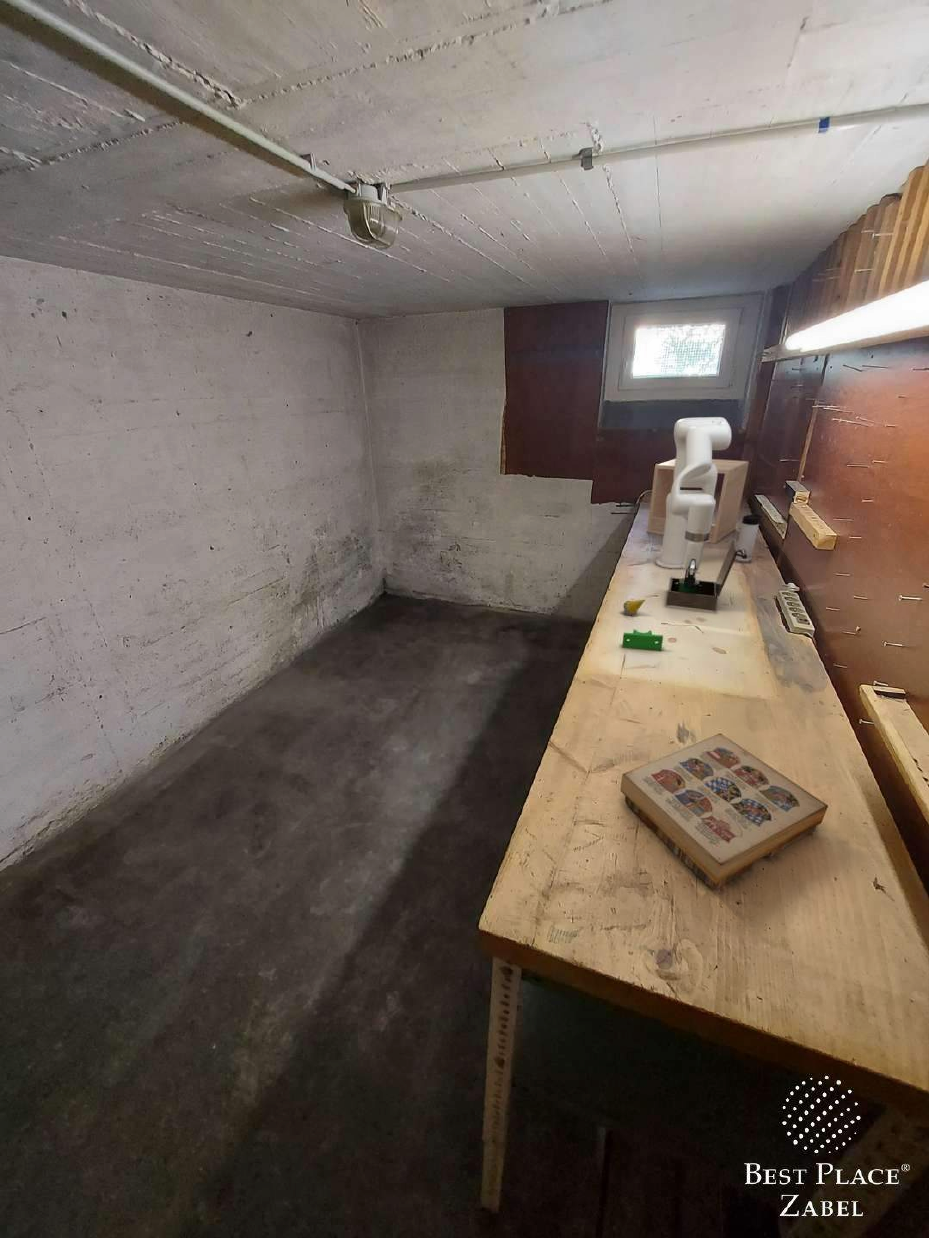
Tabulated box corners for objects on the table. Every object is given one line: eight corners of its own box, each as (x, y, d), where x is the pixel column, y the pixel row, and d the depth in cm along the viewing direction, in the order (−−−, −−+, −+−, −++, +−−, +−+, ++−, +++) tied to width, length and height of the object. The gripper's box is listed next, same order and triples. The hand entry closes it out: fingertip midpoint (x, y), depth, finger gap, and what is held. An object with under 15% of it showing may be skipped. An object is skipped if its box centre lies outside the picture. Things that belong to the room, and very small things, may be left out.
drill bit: (629, 610, 171) (651, 597, 164) (628, 622, 168) (650, 609, 160) (618, 602, 170) (639, 589, 162) (616, 614, 167) (639, 601, 159)
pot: (672, 601, 174) (675, 583, 171) (673, 594, 179) (676, 576, 176) (699, 604, 170) (702, 586, 167) (699, 597, 176) (703, 579, 173)
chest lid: (735, 550, 155) (751, 554, 153) (733, 538, 167) (748, 541, 165) (716, 595, 163) (731, 599, 161) (715, 580, 175) (729, 584, 173)
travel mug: (753, 563, 206) (763, 517, 198) (736, 563, 208) (746, 517, 199) (748, 558, 212) (758, 513, 203) (732, 558, 213) (741, 513, 205)
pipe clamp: (659, 644, 148) (662, 631, 146) (661, 650, 145) (663, 637, 143) (621, 641, 150) (623, 628, 148) (622, 647, 147) (623, 633, 145)
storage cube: (735, 529, 252) (749, 461, 237) (715, 543, 233) (729, 470, 218) (669, 520, 273) (678, 457, 258) (647, 532, 255) (655, 464, 240)
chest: (665, 606, 172) (668, 591, 169) (668, 591, 183) (670, 577, 181) (714, 612, 165) (717, 597, 163) (713, 596, 177) (716, 582, 175)
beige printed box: (709, 745, 107) (609, 788, 96) (715, 722, 104) (612, 764, 94) (824, 827, 86) (713, 893, 76) (835, 801, 84) (720, 865, 73)
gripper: (685, 529, 173) (678, 574, 180) (684, 542, 159) (676, 590, 166) (709, 530, 170) (700, 576, 177) (709, 544, 156) (700, 593, 163)
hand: (689, 583), depth 172 cm, fingers open, 9 cm apart
